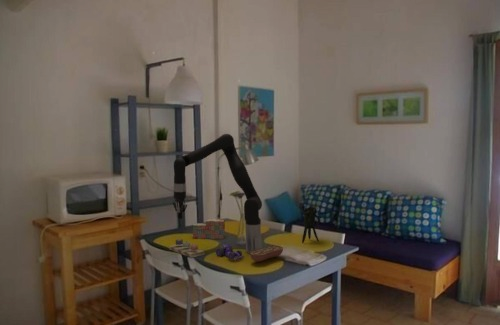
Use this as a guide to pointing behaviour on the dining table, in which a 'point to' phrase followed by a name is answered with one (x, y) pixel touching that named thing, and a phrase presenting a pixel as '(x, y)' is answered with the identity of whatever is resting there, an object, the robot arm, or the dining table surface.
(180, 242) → the button
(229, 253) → the toy race car
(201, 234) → the stack of blocks
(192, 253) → the button board
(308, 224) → the black legged piece
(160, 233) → the dining table surface
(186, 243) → the button
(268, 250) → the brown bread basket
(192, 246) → the button
